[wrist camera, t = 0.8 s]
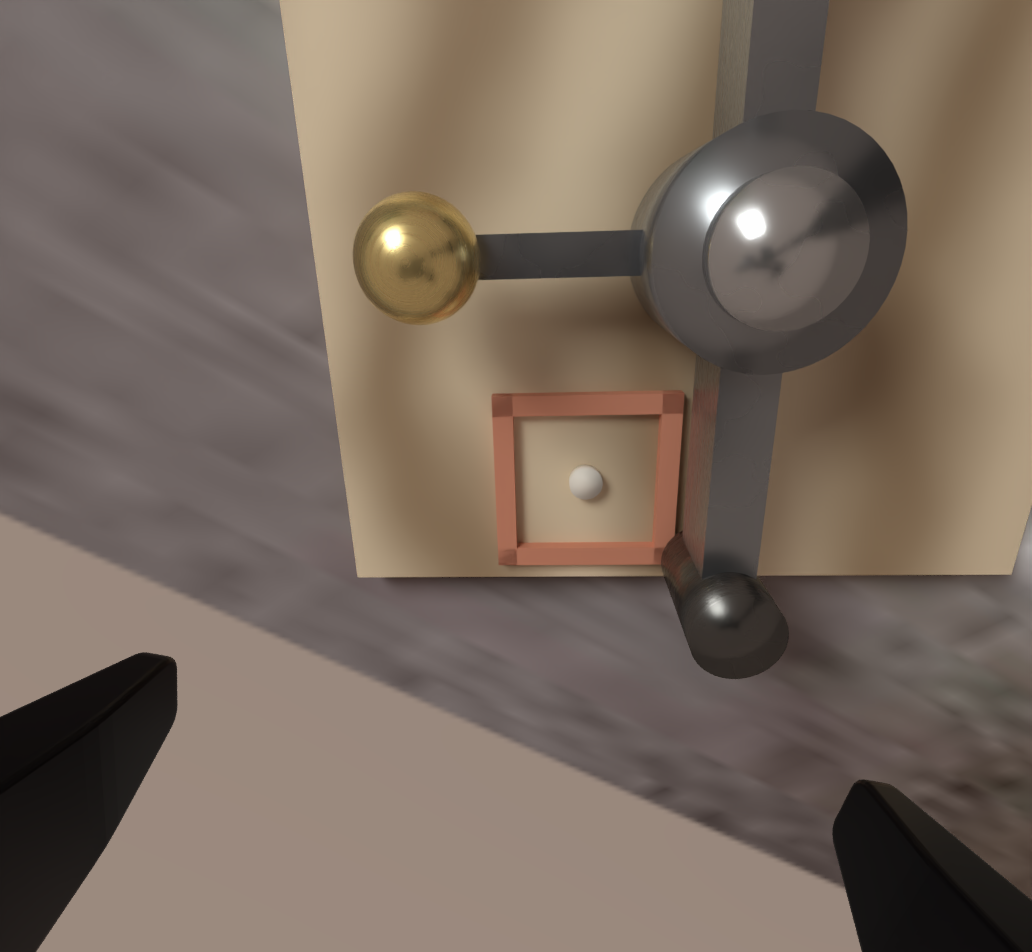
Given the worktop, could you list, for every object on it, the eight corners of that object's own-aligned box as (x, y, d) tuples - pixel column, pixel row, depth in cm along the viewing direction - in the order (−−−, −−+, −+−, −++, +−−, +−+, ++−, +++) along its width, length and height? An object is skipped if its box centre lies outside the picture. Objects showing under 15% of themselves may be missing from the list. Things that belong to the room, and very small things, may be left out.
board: (1206, -250, 14) (1265, -294, 13) (986, 556, 21) (1010, 574, 20) (271, -191, 15) (249, -226, 14) (367, 559, 22) (357, 577, 21)
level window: (681, 390, 18) (684, 393, 18) (670, 558, 20) (672, 564, 20) (492, 393, 18) (491, 397, 18) (499, 559, 20) (498, 565, 20)
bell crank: (896, -296, 13) (1081, -573, 8) (774, 587, 20) (838, 684, 16) (336, -259, 13) (236, -501, 9) (418, 588, 20) (385, 683, 16)
